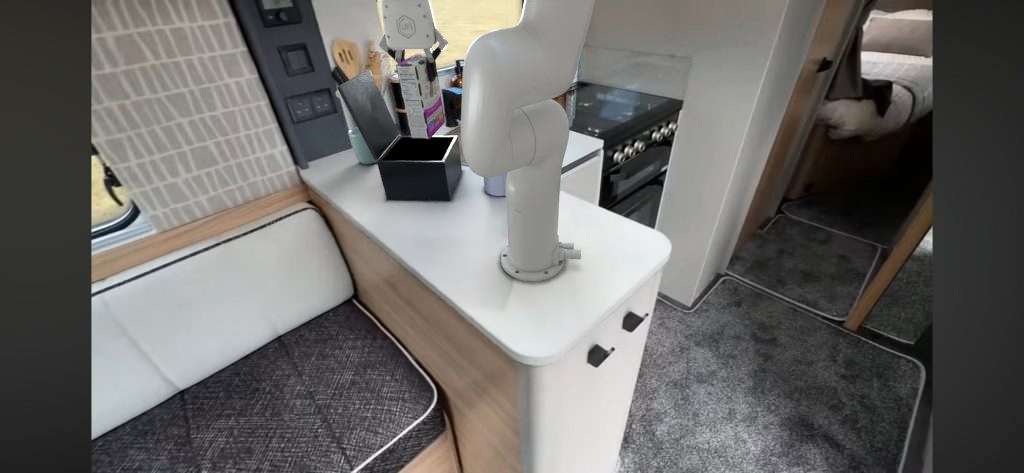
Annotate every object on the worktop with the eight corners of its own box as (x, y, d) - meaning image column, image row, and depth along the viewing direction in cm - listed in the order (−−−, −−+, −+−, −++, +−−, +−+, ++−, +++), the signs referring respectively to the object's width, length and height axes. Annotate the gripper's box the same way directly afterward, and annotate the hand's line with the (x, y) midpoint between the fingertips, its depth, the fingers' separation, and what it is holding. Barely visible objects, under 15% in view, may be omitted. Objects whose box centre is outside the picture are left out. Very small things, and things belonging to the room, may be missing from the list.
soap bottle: (479, 196, 96) (470, 102, 82) (489, 179, 104) (483, 90, 90) (512, 199, 95) (508, 104, 81) (520, 182, 102) (518, 92, 88)
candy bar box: (427, 122, 97) (415, 52, 87) (445, 123, 96) (436, 52, 86) (409, 138, 88) (394, 63, 78) (429, 139, 87) (416, 63, 77)
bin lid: (369, 68, 93) (350, 74, 95) (339, 86, 80) (318, 92, 81) (399, 133, 103) (382, 138, 104) (377, 159, 90) (358, 164, 91)
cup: (357, 158, 118) (348, 127, 112) (382, 154, 120) (374, 123, 114) (356, 168, 112) (347, 136, 106) (383, 164, 114) (375, 132, 108)
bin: (462, 171, 108) (457, 135, 102) (450, 201, 95) (444, 162, 89) (406, 171, 110) (398, 135, 103) (387, 200, 97) (376, 161, 90)
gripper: (354, -13, 72) (377, 85, 83) (441, -16, 70) (453, 84, 81) (369, -15, 78) (388, 77, 89) (449, -18, 76) (460, 76, 87)
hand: (419, 79), depth 85 cm, fingers closed on candy bar box, 5 cm apart
